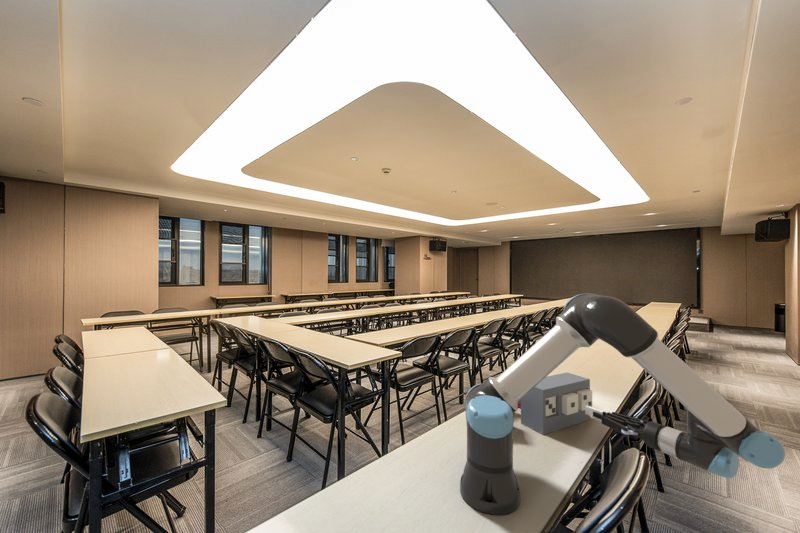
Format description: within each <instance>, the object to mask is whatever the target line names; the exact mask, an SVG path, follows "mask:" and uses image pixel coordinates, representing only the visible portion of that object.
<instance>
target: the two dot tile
mask: <svg viewBox="0 0 800 533" xmlns="http://www.w3.org/2000/svg"><path fill="white" fill-rule="evenodd" d="M577 394H578V409H579V410H582V411H583V410H585V406H590V407H593V390H591V389H590V390H589V389H582V390H578V391H577Z"/></svg>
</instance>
